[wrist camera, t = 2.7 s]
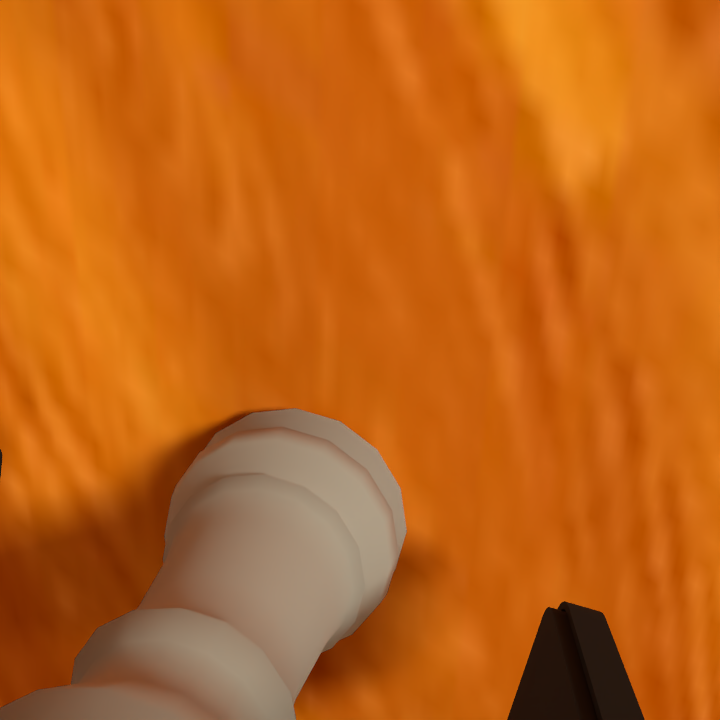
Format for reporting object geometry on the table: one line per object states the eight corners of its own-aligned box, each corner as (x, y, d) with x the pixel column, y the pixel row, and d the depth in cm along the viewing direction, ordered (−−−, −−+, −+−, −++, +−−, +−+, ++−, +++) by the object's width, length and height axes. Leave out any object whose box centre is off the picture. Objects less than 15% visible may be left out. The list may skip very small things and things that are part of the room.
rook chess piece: (455, 524, 12) (452, 1056, 4) (295, 642, 13) (65, 1231, 5) (303, 354, 12) (11, 598, 4) (153, 489, 13) (-300, 881, 5)
